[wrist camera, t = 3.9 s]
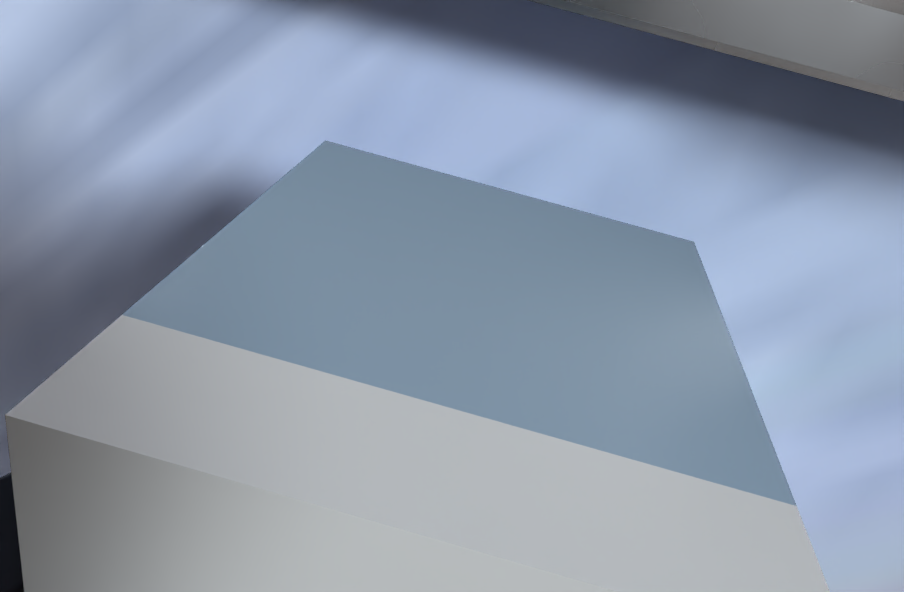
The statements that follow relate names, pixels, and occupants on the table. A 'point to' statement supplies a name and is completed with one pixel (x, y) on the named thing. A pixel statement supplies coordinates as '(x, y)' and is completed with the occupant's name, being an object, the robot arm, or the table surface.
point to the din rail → (778, 33)
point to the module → (409, 409)
